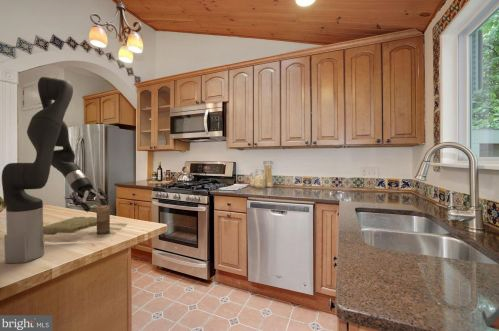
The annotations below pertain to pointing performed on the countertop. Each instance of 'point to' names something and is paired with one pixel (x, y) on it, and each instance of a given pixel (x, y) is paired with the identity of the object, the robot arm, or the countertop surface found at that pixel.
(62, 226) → the decorative tile
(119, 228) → the birch board
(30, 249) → the robot arm
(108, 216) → the walnut roller
